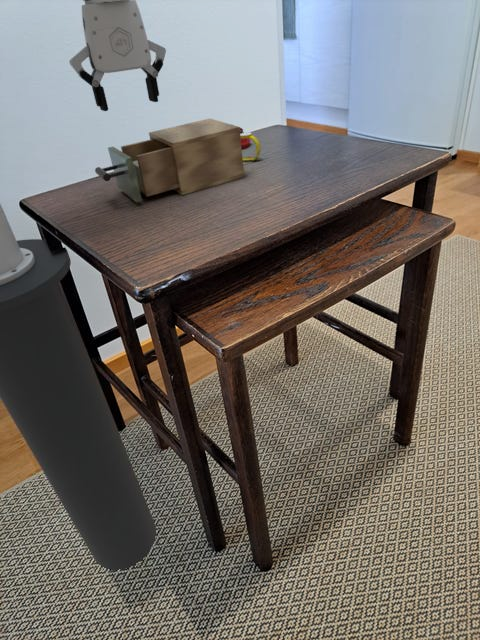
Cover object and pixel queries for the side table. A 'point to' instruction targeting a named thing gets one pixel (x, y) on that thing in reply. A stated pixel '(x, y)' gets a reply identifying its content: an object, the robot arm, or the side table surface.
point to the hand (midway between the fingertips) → (129, 105)
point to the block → (138, 173)
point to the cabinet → (204, 153)
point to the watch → (249, 135)
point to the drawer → (142, 168)
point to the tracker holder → (244, 140)
